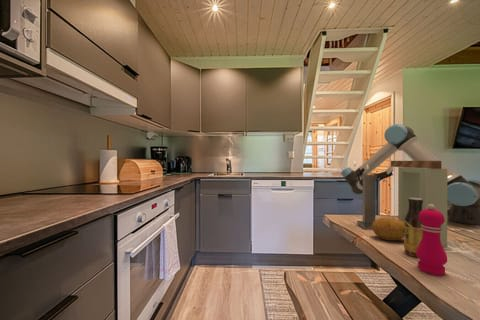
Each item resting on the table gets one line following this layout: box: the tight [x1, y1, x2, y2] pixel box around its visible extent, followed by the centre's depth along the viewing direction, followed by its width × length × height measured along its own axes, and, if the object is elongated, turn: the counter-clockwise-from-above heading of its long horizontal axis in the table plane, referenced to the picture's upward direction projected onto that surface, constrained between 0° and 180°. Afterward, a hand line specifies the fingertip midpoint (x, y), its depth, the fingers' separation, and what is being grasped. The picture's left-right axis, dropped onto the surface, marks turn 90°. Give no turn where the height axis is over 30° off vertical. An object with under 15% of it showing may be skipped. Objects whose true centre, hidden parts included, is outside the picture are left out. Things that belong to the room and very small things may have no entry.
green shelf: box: [397, 167, 448, 247], centre depth 97 cm, size 17×8×30 cm, turn 176°
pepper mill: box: [416, 204, 448, 276], centre depth 68 cm, size 7×7×20 cm
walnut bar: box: [390, 160, 442, 169], centre depth 102 cm, size 28×3×3 cm, turn 176°
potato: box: [372, 217, 404, 241], centre depth 95 cm, size 10×13×9 cm
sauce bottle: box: [403, 198, 423, 258], centre depth 80 cm, size 6×6×20 cm
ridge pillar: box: [356, 174, 377, 231], centre depth 113 cm, size 8×8×26 cm
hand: (380, 166), depth 128 cm, fingers open, 13 cm apart
